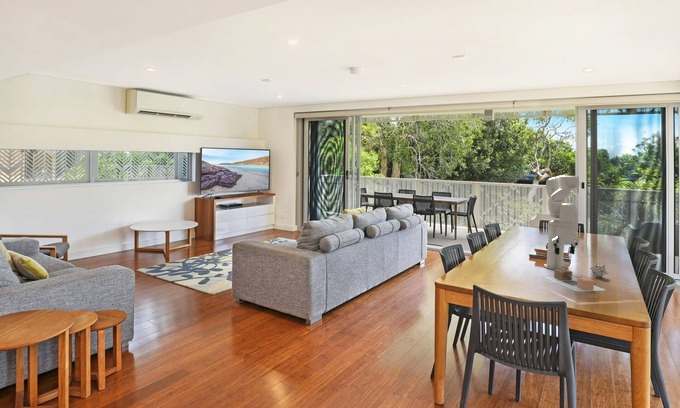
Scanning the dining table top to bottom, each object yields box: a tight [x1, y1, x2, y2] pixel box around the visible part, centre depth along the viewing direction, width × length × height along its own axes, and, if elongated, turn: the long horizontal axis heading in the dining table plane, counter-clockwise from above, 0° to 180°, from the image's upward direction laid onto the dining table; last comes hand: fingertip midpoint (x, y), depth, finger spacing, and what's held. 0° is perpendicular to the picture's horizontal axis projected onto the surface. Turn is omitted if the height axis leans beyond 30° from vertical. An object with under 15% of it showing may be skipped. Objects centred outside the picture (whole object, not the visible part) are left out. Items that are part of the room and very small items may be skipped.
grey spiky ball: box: [589, 263, 609, 279], centre depth 254 cm, size 9×8×10 cm
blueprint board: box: [543, 276, 606, 292], centre depth 237 cm, size 18×28×1 cm, turn 9°
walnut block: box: [553, 268, 573, 281], centre depth 246 cm, size 6×6×5 cm
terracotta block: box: [577, 277, 595, 290], centre depth 228 cm, size 6×6×5 cm
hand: (564, 253), depth 245 cm, fingers open, 9 cm apart
